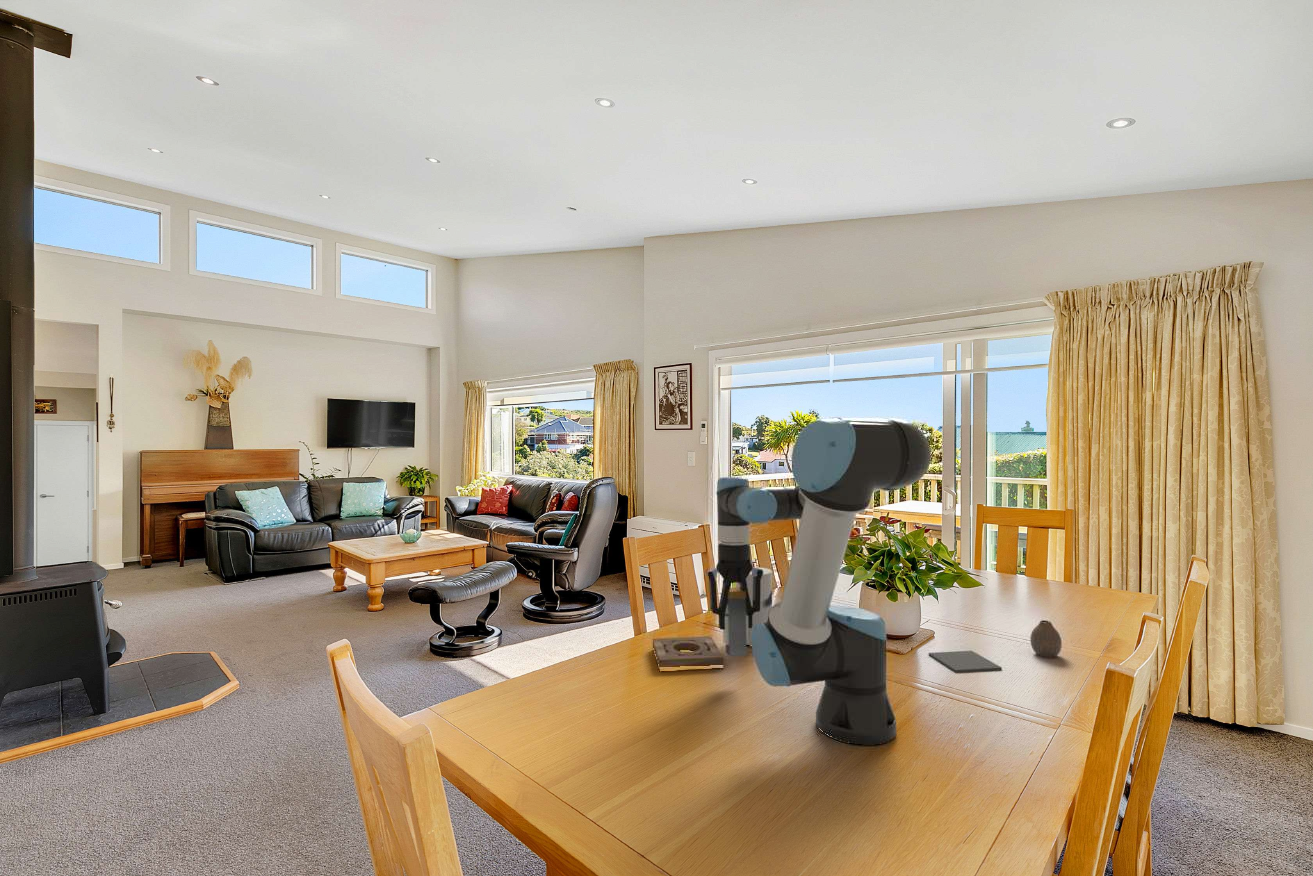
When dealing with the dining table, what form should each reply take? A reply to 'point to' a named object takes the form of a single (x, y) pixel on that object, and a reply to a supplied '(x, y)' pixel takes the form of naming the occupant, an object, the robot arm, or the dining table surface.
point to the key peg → (736, 622)
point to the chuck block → (701, 655)
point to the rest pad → (964, 661)
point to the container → (764, 598)
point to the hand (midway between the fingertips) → (735, 642)
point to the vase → (1046, 640)
